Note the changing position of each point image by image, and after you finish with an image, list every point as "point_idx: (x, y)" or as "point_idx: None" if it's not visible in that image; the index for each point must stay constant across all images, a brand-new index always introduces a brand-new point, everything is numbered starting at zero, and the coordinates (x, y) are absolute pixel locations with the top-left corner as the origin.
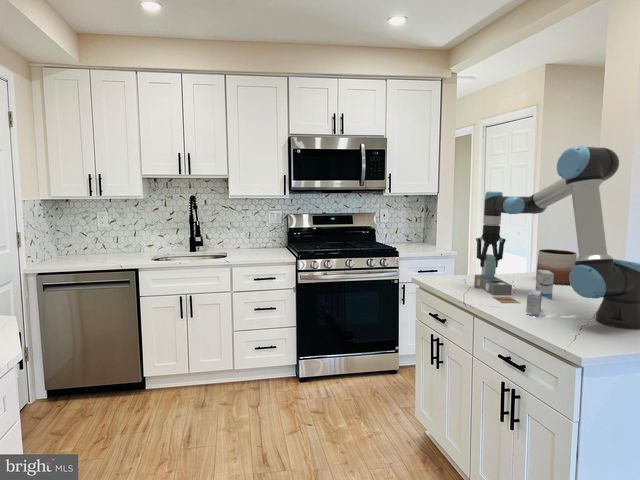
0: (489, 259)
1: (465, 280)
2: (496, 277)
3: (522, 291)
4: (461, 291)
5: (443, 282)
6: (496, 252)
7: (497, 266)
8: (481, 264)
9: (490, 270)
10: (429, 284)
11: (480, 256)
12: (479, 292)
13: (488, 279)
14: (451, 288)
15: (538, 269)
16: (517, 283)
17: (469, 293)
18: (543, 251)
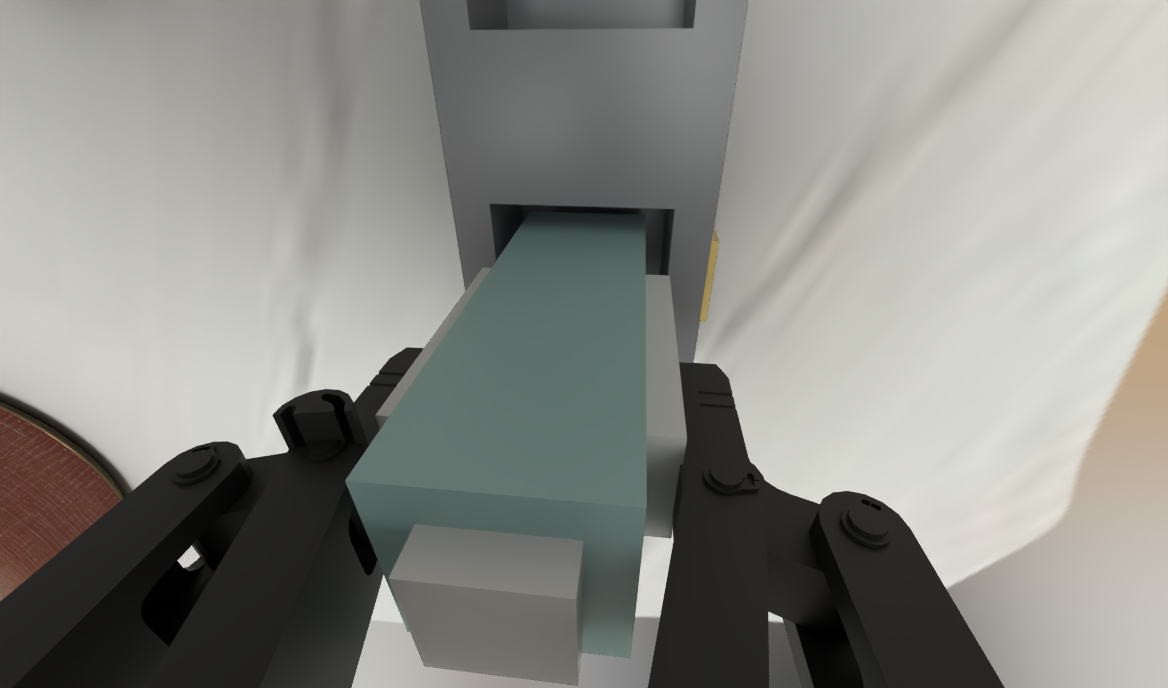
0: (563, 436)
1: None
2: (465, 277)
3: (244, 160)
4: (970, 138)
5: (877, 483)
6: (200, 682)
7: (393, 357)
8: (733, 402)
9: (560, 283)
10: (1087, 433)
11: (864, 574)
12: (758, 90)
13: (647, 129)
14: (980, 283)
15: (39, 555)
16: (266, 431)
17: (940, 19)
18: None
